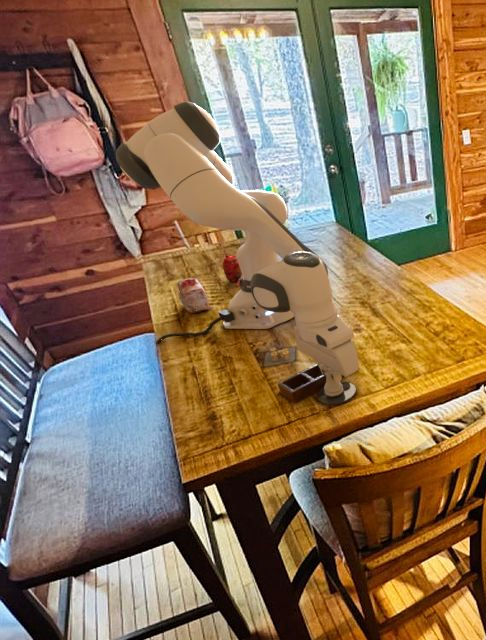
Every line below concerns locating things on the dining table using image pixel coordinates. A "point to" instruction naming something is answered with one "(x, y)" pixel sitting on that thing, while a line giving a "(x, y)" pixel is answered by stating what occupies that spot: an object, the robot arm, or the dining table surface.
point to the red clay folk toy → (231, 266)
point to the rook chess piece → (331, 384)
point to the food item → (193, 295)
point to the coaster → (345, 396)
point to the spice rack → (300, 378)
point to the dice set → (279, 356)
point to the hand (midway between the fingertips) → (332, 377)
